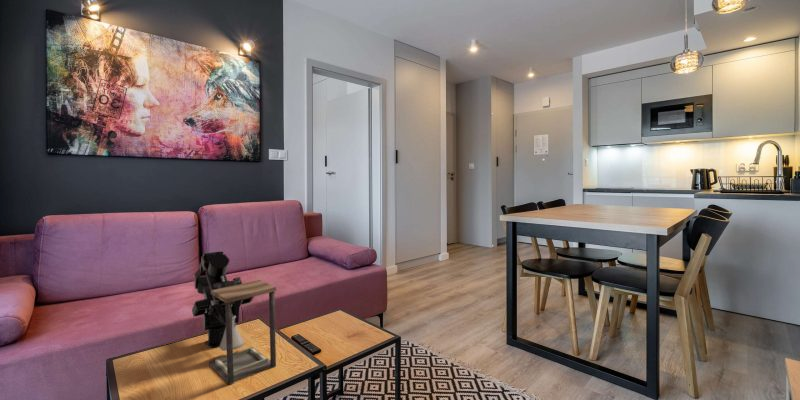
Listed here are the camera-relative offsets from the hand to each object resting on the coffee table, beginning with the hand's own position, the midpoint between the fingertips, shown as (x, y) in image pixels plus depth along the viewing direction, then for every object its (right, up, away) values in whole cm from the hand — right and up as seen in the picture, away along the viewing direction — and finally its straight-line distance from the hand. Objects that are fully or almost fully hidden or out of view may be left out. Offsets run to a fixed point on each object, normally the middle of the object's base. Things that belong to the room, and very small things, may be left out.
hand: (232, 324), depth 118 cm
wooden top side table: (+4, -12, -3) cm, 13 cm away
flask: (-1, -8, +1) cm, 8 cm away
